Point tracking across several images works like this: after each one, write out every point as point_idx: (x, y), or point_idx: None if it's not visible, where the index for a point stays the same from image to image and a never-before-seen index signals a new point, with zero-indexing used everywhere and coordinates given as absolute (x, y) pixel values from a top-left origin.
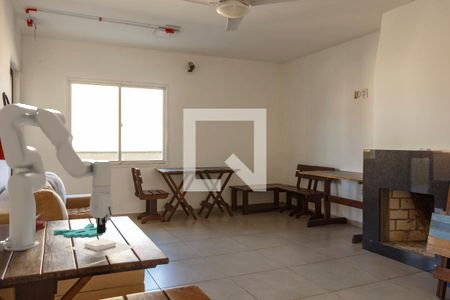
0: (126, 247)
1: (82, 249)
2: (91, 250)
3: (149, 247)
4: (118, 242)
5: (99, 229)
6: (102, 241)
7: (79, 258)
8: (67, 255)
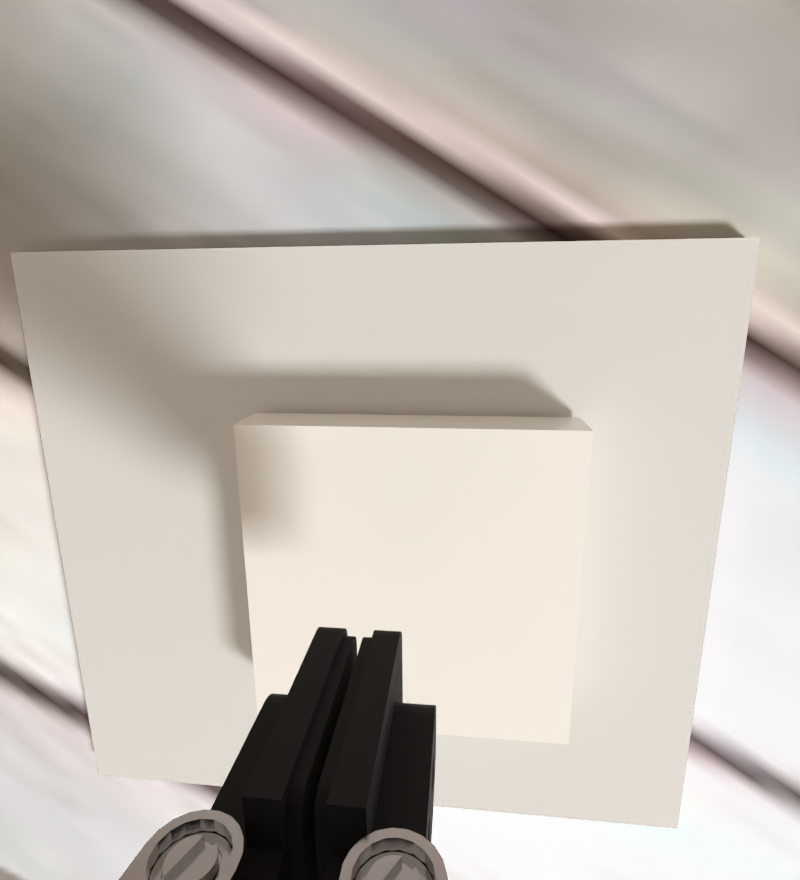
0: (145, 712)
1: (500, 332)
2: (354, 385)
3: (39, 849)
4: None
5: (291, 695)
6: (431, 642)
7: (221, 98)
8: (483, 49)
